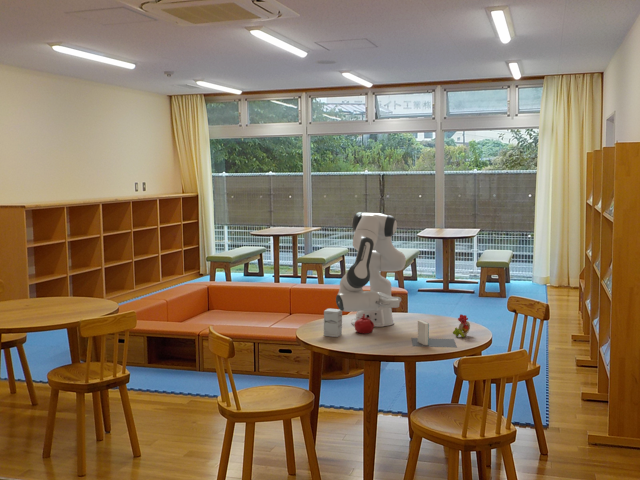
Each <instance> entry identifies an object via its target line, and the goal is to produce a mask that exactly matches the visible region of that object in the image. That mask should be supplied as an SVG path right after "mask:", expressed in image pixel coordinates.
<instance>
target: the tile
mask: <svg viewBox="0 0 640 480" xmlns="http://www.w3.org/2000/svg"><path fill="white" fill-rule="evenodd" d="M429 335H430V323H428V322H426V321H424V320H421V319H420V320H417V338H418V342H419V343H421V344H423V345H429V337H430V336H429Z"/></svg>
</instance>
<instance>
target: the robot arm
mask: <svg viewBox="0 0 640 480" xmlns="http://www.w3.org/2000/svg"><path fill="white" fill-rule="evenodd" d="M397 222H398V221H397V219H396V218H395V217H394V216H393V215H389V214H388V215H387V214H385V213H381V212H379V213H378V212H364V211H359V212H356V213H355V214H354V215H353V217H352V220H351V225H352V229H353V231H354V234H353V238H352V246H353V248H354V249H355V251H357V252H356V257H355V261H354V263H353V264H352V265H351V266H350V267H349V269H348V270H347V272H346V273H345V274H344V275H343V276H342V277H341V279H340V281H339V289H338V292H337V295H336V296H335V303H336V306H337V309H340V310H342V312H349V313H351V312H352V313H355V312H356V315H355V318H353V319H352V320H351V324H352V325H353V326H355V322H356V321H357V320H359V319H360V318H362V316H363V314H365V318H366V317H368V318H367V319H370V320H371V321H372V322H373V323H374V327H375V328H376V327H378V328H381V327H382V328H384V327H386V326H393V325H394V324H395V322H394V319H393V312H392V311H393V310H392V309H393V308H399V307H400V303H401V302H402V297H400V296H392V282H391V281H390V280H389V279H388V278H386V277H385V276H382V275H381V272H398V271H402V270H404V268H405V266H406V263H407V258H406V256H405V254H404V253H403V252H402V251H400V250H399V249H397V248H396V247H395V245H394V244H393V243H392V241H393V240H392V236H394V235H395V233H396V231H397V230H398V229H397V228H398V223H397ZM367 284H369V287H370V289H369V290H363V287H365V286H366V285H367ZM358 317H359V318H358ZM369 317H370V318H369Z"/></svg>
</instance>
